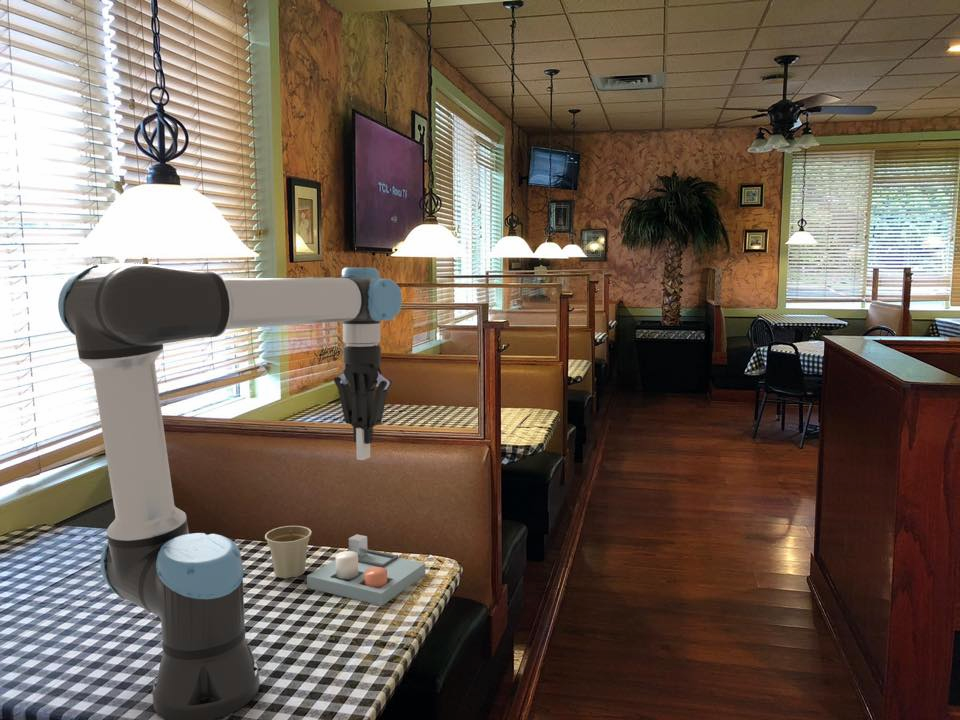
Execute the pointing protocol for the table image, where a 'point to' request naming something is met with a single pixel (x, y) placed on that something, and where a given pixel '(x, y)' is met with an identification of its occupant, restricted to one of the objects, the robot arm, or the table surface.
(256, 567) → the table surface
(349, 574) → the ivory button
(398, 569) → the panel
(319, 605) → the table surface
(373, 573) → the salmon orange egg
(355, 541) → the grey stone cube
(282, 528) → the flower pot
